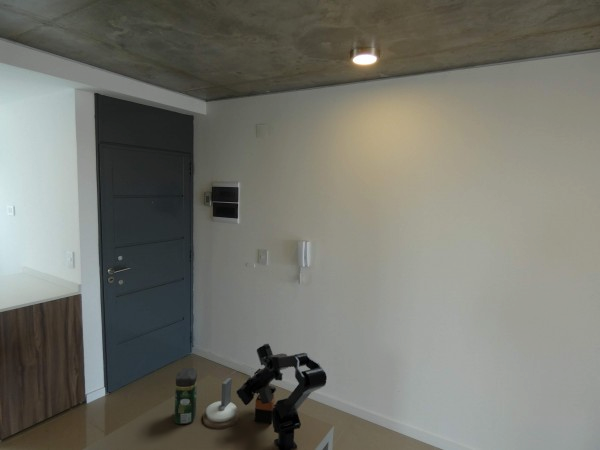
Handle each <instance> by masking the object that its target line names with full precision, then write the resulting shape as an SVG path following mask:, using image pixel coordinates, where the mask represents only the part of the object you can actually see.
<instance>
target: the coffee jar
mask: <svg viewBox="0 0 600 450" xmlns="http://www.w3.org/2000/svg"><path fill="white" fill-rule="evenodd" d="M174 384H175V386H174V387H175V388H174V390H175V392H174V393H175V394H174V419H173V421H174V423H176V424H179V425H186V424H190V423H192V422H193V421H195V418H196V413H197V386H198V385H197V384H198V372H197V370H196V369H195V368H193V367H183V368H182V369H180V370H179V371H178V372H177V375H176V376H175V383H174Z"/></svg>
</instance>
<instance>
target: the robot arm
mask: <svg viewBox="0 0 600 450" xmlns="http://www.w3.org/2000/svg"><path fill="white" fill-rule="evenodd" d="M256 353H257V354H256V355H257V356H258V359H259V362H260V365H261V366H264V368H258V369H257V370H256V371H255V372H254V373H253V375H252V377H249V378H248V379H247V380H246V382H244V383H243V384H242V386H240V387H239V388H238V389H237V390H236V395H237V397H238V398H239V399H240V400H241V402H242V403H243V404H244V406H247V405H249V404H250V403H251V402H252V401H253V400H254V398H255V395H260V398H261V402H262V404H265V403H269V402H271V400H272V399H273V397H275V392H276V391H277V388H276V386H273V385H270V383H271V382H272V381H274V380H275V381H278V382H280V381H283V375H284V374H283V373H282V372H281V371H283V370H286V369H288V368H291V367H292V368H294V369H295V371H294V377H295V379H296V381H297V383H298V384H297V385H296V387H295V388H294V390H292V392H291V393H290V394H289V396H288V397H287V398H285V397H284V398H283V399H278V400H277V401H276V403H274V409H273V412H272V427H273V432H274V433H276V434H277V438H275V439H274V440H273V443H274V444H275V445H276V446H277V449H278V450H294V449H297V448H298V445H297V443H296V442H295V430H298V429H300V428H301V425H302V424H301V420H300V416H299V411H298V409H299V408H300V407H301V405H302V404H303V403H304V402H305V401H306V400H307V398H308V397H309V396H310V395H311V393H313V392H315V391H318V390H320V389H322V388H323V387H325V386H326V384H327V373H326V371H325V369H324V368H323V367H322V366H321V364H320V363H319V362H317V361H316V360H314V359H312V358H311V357H310V356H309V355H308V353H306V352H302V353H297V354H292V355H287V353H277V354H273V351H272V348H271V345H270V344H269V343H264V344H263V345H261V346H260V347H258V348H257V349H256ZM304 366H305V367H307V368H308V369H306V370H301V369H300V367H304ZM271 397H272V398H271Z"/></svg>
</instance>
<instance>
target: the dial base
mask: <svg viewBox="0 0 600 450" xmlns="http://www.w3.org/2000/svg"><path fill="white" fill-rule="evenodd" d="M206 410H207V408H205V410H204V411H203V413H202V422H203V424H204V425H205V426H207V427H209V428H211V429H218V430H219V429H220V430H221V429H226V428H229V427H232V426H234V425H236V423H237V422H238V421H239V420H240V410H239V409H238V407H236V415H235V416H234V417H233V418H232V419H231V420H228V421H225V422H214V421H211V420H209V419H208V418H207V416H206Z"/></svg>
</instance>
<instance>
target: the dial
mask: <svg viewBox="0 0 600 450" xmlns="http://www.w3.org/2000/svg"><path fill="white" fill-rule="evenodd" d="M232 380H233V379H232V378H231V377H227V378H226V379H225V380H224V381H223V382H222V383H221V398H220V401H219V400H218V401H215V402H213V403H211V404H209V405H208V406H207V407H206V409H207V410H206V409H205V410H206V416H207V418H208V419H209V420H211V421H214V422H225V421H228V420H231V419H232V418H233V417H234V416H235V415H236V408H237V406H236V404H234V403H233V402H231V401H232V400H231V399H232V382H233V381H232Z"/></svg>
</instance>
